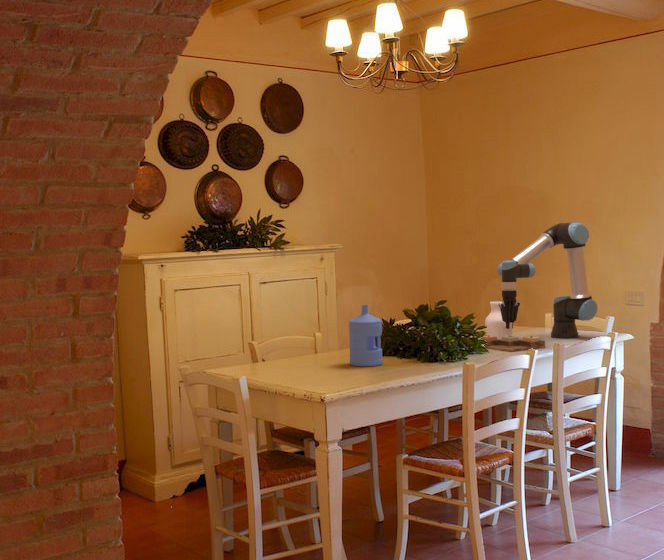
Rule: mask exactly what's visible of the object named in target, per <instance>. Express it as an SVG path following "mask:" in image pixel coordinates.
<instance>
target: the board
mask: <svg viewBox="0 0 664 560" xmlns="http://www.w3.org/2000/svg"><path fill="white" fill-rule="evenodd" d="M484 346H485V347H486V348H485V349H489V350H493V351H494V350H495V351H501V352H507V353H515V352H522V351H529V350H528V349H531V348H533V349H531V350H538V349H539V350H540V349H545V348H546V340H542V339H540V341H537V342H526V341H523V339H518V341H512V342H508V341H502V340H498V339H497V340H495V341H487V344H485V345H484Z"/></svg>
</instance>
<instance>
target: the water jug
mask: <svg viewBox="0 0 664 560" xmlns="http://www.w3.org/2000/svg"><path fill="white" fill-rule="evenodd" d="M382 324H383V322H382V319H380V318H378V317H376V316H374V315H372V314H370V313H369V305H368V304H363V305H361V313H360V314H359V315H357V316H356V317H354V318H352V319H350V320H349V321H348V330H349V331H348V332H349V333H348V335H349V339H348V340H349V343H348V345H349V364H350V366H354V367H360V368H361V367H362V368H364V367H366V368H368V367H370V368H371V367H377V366H381V365H383V361H384V358H383V348H382V344H381V343H382V341H381V336H382V334H383V333H382V330H383V325H382Z"/></svg>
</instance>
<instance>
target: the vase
mask: <svg viewBox="0 0 664 560" xmlns="http://www.w3.org/2000/svg"><path fill="white" fill-rule="evenodd" d="M501 303H502V301H500V300H499V301H489V305H490V309H491V310H490V312H489V314H488V315H487V316H486V317H485V319H484V327H485V326H487V328H485V331H486V336H491V322H492V321H503V320H502V315H501V310H500V307H499V304H501ZM506 335H507V329H506Z"/></svg>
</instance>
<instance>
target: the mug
mask: <svg viewBox="0 0 664 560" xmlns="http://www.w3.org/2000/svg"><path fill="white" fill-rule="evenodd" d="M491 336H496V337H497V339H498V340H502V337H505V336H511V335H506V322H504V321H492V322H491Z"/></svg>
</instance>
